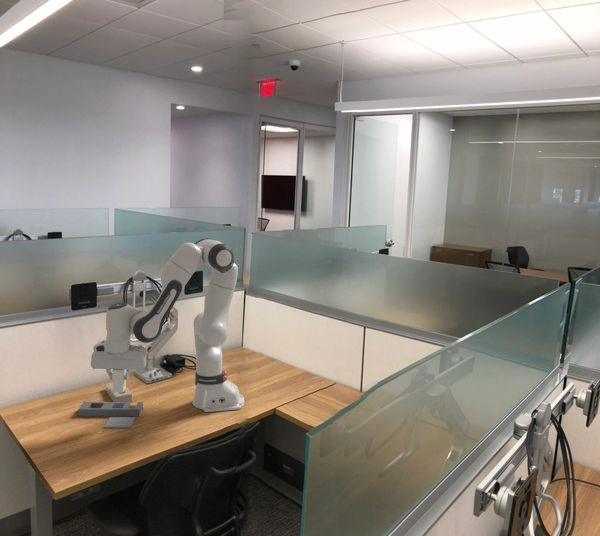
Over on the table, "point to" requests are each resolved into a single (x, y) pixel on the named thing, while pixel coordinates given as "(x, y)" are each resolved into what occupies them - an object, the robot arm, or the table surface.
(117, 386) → the charger
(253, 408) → the table surface
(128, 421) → the mat
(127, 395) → the electrical outlet
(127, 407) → the power strip
